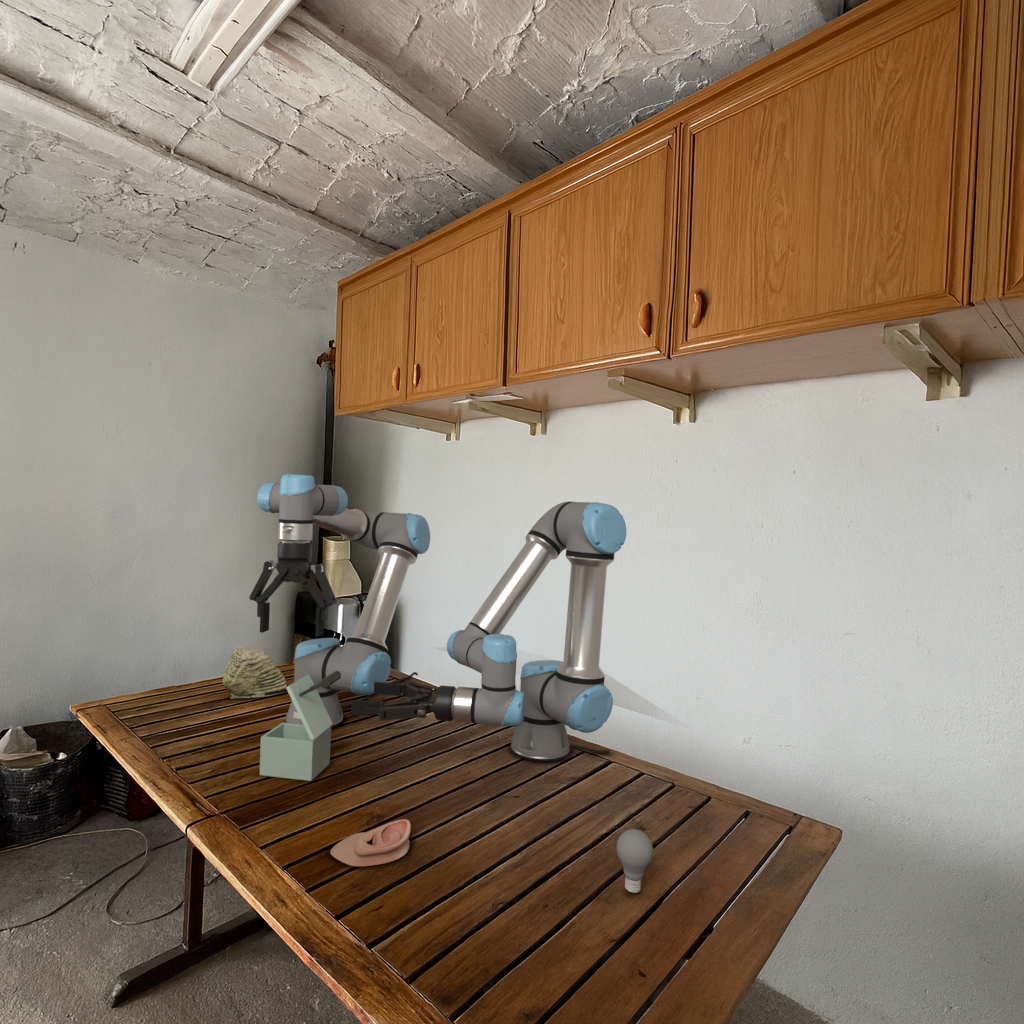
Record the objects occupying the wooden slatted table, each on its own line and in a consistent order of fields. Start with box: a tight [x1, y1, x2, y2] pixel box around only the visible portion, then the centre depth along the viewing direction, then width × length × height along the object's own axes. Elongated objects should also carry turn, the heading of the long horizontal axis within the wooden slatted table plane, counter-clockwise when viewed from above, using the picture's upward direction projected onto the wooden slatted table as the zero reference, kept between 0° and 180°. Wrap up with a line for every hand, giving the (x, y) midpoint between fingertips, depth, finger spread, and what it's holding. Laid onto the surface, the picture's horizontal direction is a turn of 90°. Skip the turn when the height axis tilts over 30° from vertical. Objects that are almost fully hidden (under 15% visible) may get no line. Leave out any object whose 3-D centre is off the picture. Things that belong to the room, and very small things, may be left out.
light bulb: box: [615, 828, 654, 894], centre depth 106 cm, size 6×6×10 cm
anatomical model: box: [329, 818, 412, 867], centre depth 114 cm, size 13×4×12 cm
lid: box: [286, 671, 341, 741], centre depth 145 cm, size 13×10×9 cm
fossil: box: [222, 646, 288, 699], centre depth 198 cm, size 9×18×15 cm, turn 132°
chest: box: [259, 722, 332, 782], centre depth 146 cm, size 12×10×9 cm
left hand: (291, 633), depth 146 cm, fingers open, 13 cm apart
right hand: (363, 696), depth 144 cm, fingers open, 13 cm apart
